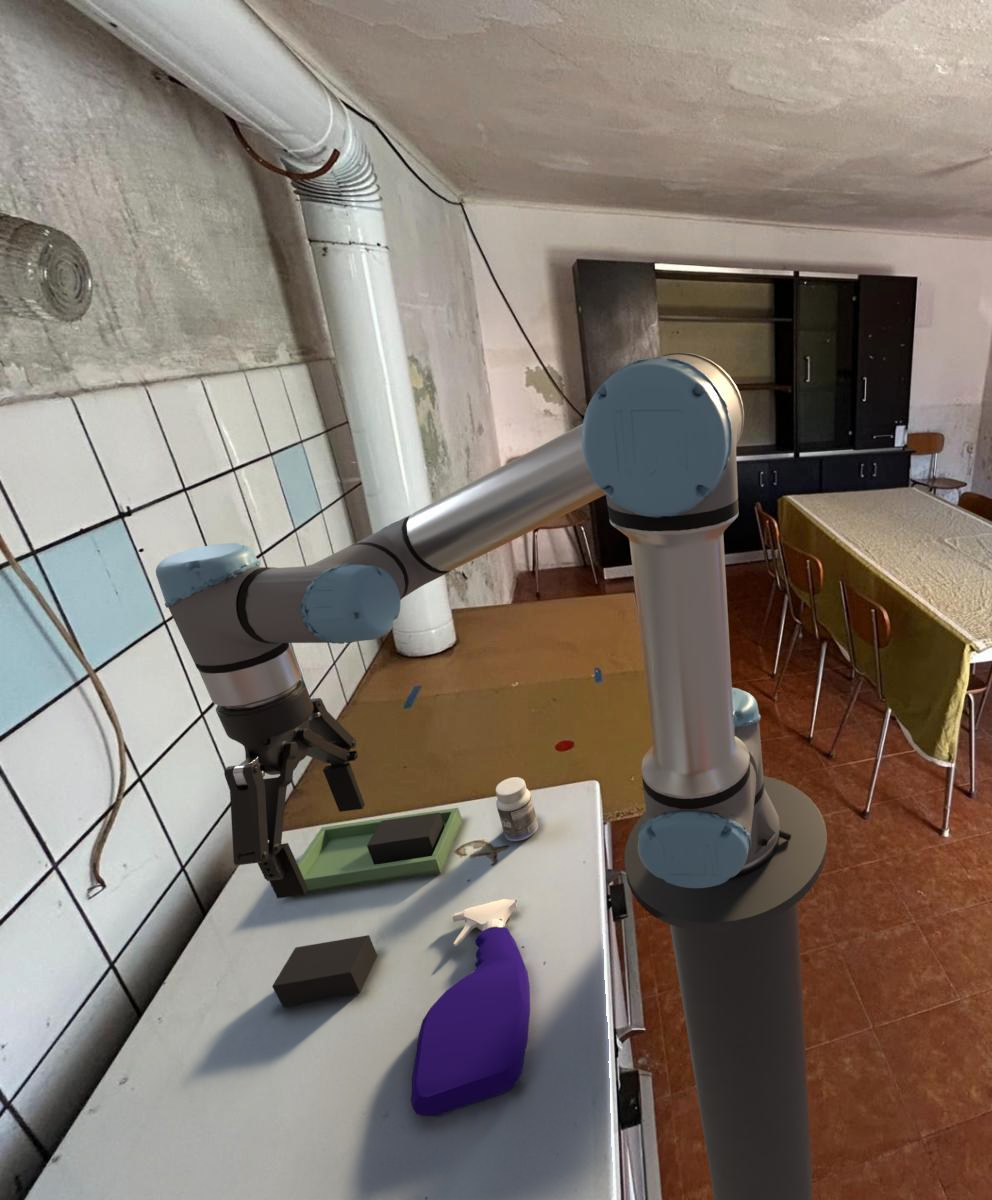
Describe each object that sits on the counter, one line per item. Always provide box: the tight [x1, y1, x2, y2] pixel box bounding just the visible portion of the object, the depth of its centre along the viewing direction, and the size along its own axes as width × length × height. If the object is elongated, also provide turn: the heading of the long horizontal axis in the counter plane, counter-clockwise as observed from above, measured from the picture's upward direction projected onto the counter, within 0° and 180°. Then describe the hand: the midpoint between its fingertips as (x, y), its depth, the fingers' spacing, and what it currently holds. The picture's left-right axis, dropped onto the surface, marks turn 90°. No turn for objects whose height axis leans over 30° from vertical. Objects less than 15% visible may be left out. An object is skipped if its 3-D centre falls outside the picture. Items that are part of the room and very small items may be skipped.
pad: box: [367, 812, 445, 865], centre depth 94 cm, size 8×5×4 cm, turn 100°
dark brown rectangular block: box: [272, 935, 378, 1008], centre depth 76 cm, size 8×5×4 cm, turn 100°
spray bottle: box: [410, 898, 531, 1118], centre depth 73 cm, size 3×11×24 cm
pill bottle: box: [495, 776, 539, 842], centre depth 96 cm, size 5×5×8 cm
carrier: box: [291, 807, 463, 898], centre depth 94 cm, size 19×11×3 cm, turn 100°
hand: (325, 848), depth 77 cm, fingers open, 13 cm apart
